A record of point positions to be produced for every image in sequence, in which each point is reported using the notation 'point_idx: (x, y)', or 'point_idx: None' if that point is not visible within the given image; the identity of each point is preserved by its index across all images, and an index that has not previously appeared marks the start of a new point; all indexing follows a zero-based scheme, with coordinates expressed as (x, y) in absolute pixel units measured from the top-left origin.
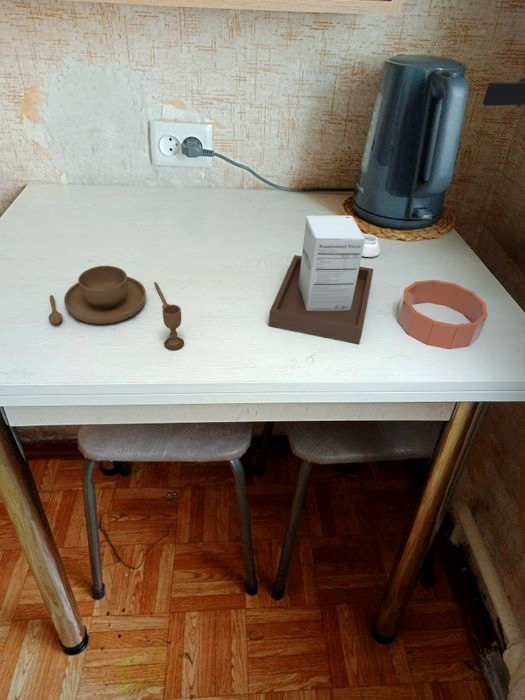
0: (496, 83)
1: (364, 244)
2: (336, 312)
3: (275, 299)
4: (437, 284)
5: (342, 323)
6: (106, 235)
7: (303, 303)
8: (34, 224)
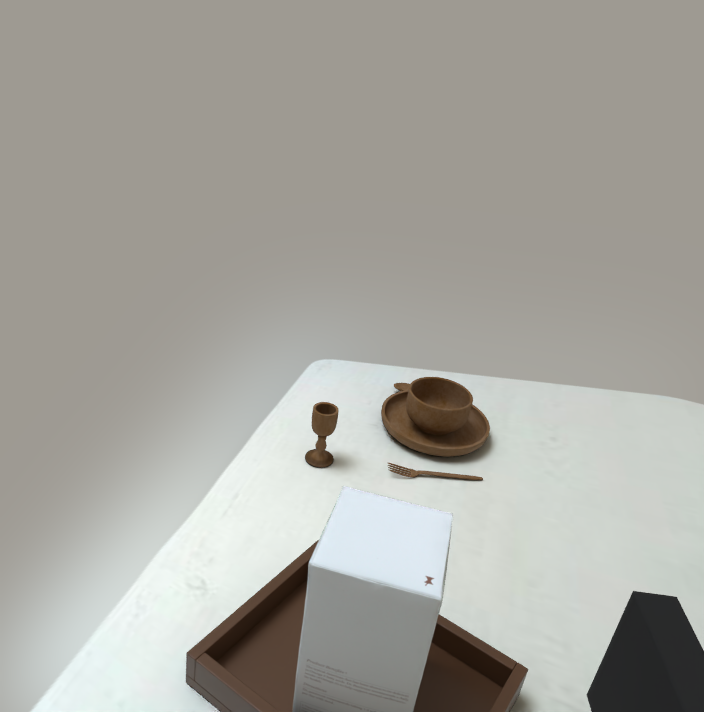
0: (661, 630)
1: None
2: None
3: None
4: None
5: (225, 627)
6: (640, 467)
7: None
8: (661, 414)
